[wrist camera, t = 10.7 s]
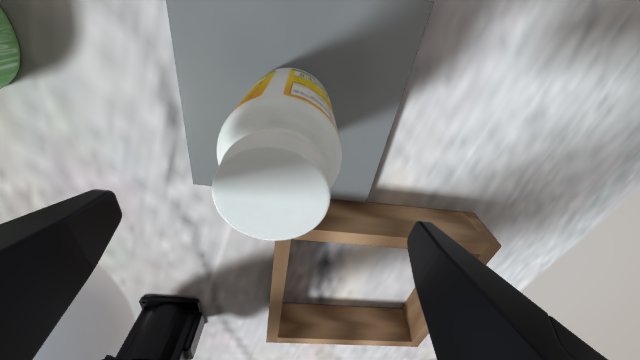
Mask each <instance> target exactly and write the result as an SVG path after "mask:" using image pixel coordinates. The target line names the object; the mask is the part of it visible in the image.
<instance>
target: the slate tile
mask: <svg viewBox="0 0 640 360" xmlns="http://www.w3.org/2000/svg"><path fill="white" fill-rule="evenodd" d="M433 3H434V2H433V1H429V0H166V4H167V10H168V17H169V24H170V30H171V37H172V44H173V51H174V57H175V64H176V71H177V77H178V84H179V91H180V97H181V104H182V111H183V117H184V124H185V131H186V138H187V144H188V151H189V158H190V164H191V171H192V178H193V184H197V185H207V186H212V182H213V177H214V175H215V172H216V170H217V168H218V167H219V164H218V160H217V141H218V136H219V133H220V131H221V128H222V126H223V124H224V123H225V121H226V120H227V118H228V117H229V115H230V114H231V113H232V112H233V110H234V109H235V108H236V107H237V106H238V104H239V103H240V102H241V101H242V100H243V98H244V97H245V96H246V95H247V94H248V92H249V91H250V90H251V89H252V88H253V86H254V85H255V84H256V83H257V82H258V81H259V79H260V78H262V77H263V76H264V75H265V74H267V73H269V72H271V71H273V70H276V69H280V68H296V69H300V70H303V71H305V72H307V73H309V74H311V75H312V76H314V77H315V78H316V79H317V80H318V81H319V82H320V83H321V84H322V85H323V87H324V88H325V90H326V92H327V94H328V96H329V99H330V102H331V106H332V110H333V114H334V118H335V122H336V126H337V130H338V134H339V138H340V143H341V150H342V161H341V167H340V171H339V174H338V176H337V178H336V180H335V182H334V184H333V185H332V187H331V188H330V191H331V198H333V199H343V200H352V201H362V202H366V201H367V198H368V195H369V192H370V189H371V186H372V183H373V180H374V177H375V174H376V171H377V168H378V165H379V163H380V160H381V157H382V154H383V151H384V148H385V145H386V142H387V139H388V136H389V133H390V130H391V127H392V124H393V121H394V118H395V115H396V112H397V109H398V107H399V104H400V101H401V98H402V95H403V92H404V89H405V86H406V83H407V80H408V77H409V74H410V71H411V68H412V65H413V62H414V59H415V56H416V54H417V51H418V48H419V45H420V42H421V39H422V36H423V33H424V30H425V27H426V24H427V21H428V18H429V15H430V12H431V9H432V6H433Z"/></svg>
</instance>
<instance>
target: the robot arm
mask: <svg viewBox="0 0 640 360" xmlns="http://www.w3.org/2000/svg"><path fill="white" fill-rule="evenodd" d="M121 218H122V212H121V209H120V206H119V204H118V201H117V198H116V196H115V194H114V193H113V192H112V191H109V190H100V189H94V190H91V191H88V192H85V193H83V194H80V195H77V196H75V197H72V198H69V199H67V200H64V201H61V202H59V203H56V204H53V205H51V206H48V207H45V208H43V209H40V210H37V211H35V212H32V213H29V214H27V215H24V216H21V217H19V218H16V219H13V220H11V221H8V222H5V223H3V224H0V360H32V359H33V358H34V357H35V355H36V354H37V352H38V351H39V349H40V348H41V346H42V345H43V343H44V342H45V341H46V339H47V338H48V336H49V335H50V333H51V332H52V330H53V329H54V327H55V326H56V325H57V323H58V322H59V320H60V319H61V317H62V316H63V314H64V313H65V311H66V310H67V308H68V307H69V306H70V304H71V303H72V301H73V300H74V298H75V297H76V295H77V294H78V292H79V291H80V290H81V288H82V287H83V285H84V284H85V282H86V281H87V279H88V278H89V276H90V275H91V273H92V272H93V270H94V268H95V267H96V265H97V264H98V262H99V260H100V258H101V256H102V255H103V253H104V251H105V249H106V247H107V245H108V243H109V242H110V240H111V238H112V236H113V234H114V232H115V231H116V229H117V227H118V225H119V223H120V221H121ZM407 247H408V252H409V257H410V262H411V267H412V273H413V278H414V283H415V287H416V291H417V295H418V298H419V301H420V305H421V308H422V311H423V314H424V318H425V321H426V324H427V327H428V331H429V334H430V337H431V341H432V344H433V347H434V350H435V354H436V357H437V360H608V359H606V358H605V357H604V356H602V355H601V354H600V353H598V352H597V351H595V350H594V349H593V348H591V347H590V346H589V345H587V344H586V343H585V342H584V341H582V340H581V339H580V338H578V337H577V336H576V335H574V334H573V333H572V332H571V331H569V330H568V329H567V328H565V327H564V326H563V325H562V324H560V323H559V322H558V321H557V320H555V319H554V318H553V317H551V316H548V314H547V313H546V312H545V311H544V310H542V309H541V308H540V307H538V306H537V305H536V304H535V303H534V302H532V301H531V300H530V299H528V298H527V297H526V296H525V295H523V294H522V293H521V292H520V291H518V290H517V289H516V288H514V287H513V286H512V285H511V284H509V283H508V282H507V281H506V280H504V279H503V278H502V277H500V276H499V275H498V274H497V273H495V272H494V271H493V270H492V269H490V268H489V267H488V266H486V265H485V264H484V263H483V262H481V261H480V260H479V259H477V258H476V257H475V256H474V255H472V254H471V253H470V252H469V251H467V250H466V249H465V248H463V247H462V246H461V245H460V244H458V243H457V242H456V241H455V240H453V239H452V238H451V237H449V236H448V235H447V234H446V233H444V232H443V231H442V230H441V229H439V228H438V227H437V226H435V225H434V224H433V223H431V222H429V221H417V222H416V223H415V225H414V227H413V228H412V230H411V232H410V234H409V236H408V239H407ZM139 303H140V305H141V307H142V311H141V313H140V314H139V316H138V318H137V320H136V322H135V323H134V325H133V327H132V329H131V331H130V332H129V334H128V336H127V338H126V339H125V341H124V343H123V345H122V347H121V348H120V350H119V352H118V354H117V356H116V357H113V356H111V355H107V356H106V357H105V359H103V360H191V359H192V358H193V357H194V354H195V351H196V348H197V345H198V342H199V339H200V336H201V333H202V330H203V327H204V324H205V323H204V318H203V314H202V312H201V309H200V304H199V301H198V300H196V299H181V298H161V297H142V298H141V299H140V301H139Z"/></svg>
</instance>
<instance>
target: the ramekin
mask: <svg viewBox="0 0 640 360" xmlns="http://www.w3.org/2000/svg"><path fill="white" fill-rule="evenodd" d="M19 66H20V50H19V44H18V42H17V39H16V36H15V33H14V30H13V28H12V26H11V24H10V22H9V20H8V18H7V17H6V15H5V13H4V12H3V10H2V9H1V7H0V88H2V87H4V86H6V85H7V84H9V83H10V82H11V81H12V80H13V79H14V78H15V76H16V74H17V73H18V70H19Z"/></svg>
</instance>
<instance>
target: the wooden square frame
mask: <svg viewBox="0 0 640 360" xmlns="http://www.w3.org/2000/svg"><path fill="white" fill-rule="evenodd" d="M417 221H429V222H431V223H433V224H434V225H435V226H437V227H438V228H439V229H441V230H442V231H443V232H444V233H446V234H447V235H448V236H449V237H451V238H452V239H453V240H455V241H456V242H457V243H458V244H460V245H461V246H462V247H463V248H465V249H466V250H467V251H469V252H470V253H471V254H472V255H474V256H475V257H476V258H477V259H479V260H480V261H481V262H483V263H484V264H485V265H486V264H487V263H488V262H489V261H490V259H491V258H492V257H493V256H494V255H495V253H496V252H497V251H498V250H499V249H500V247H501V245H500V243H499V242H498V241H497V240H496V239H495V237H494V236H493V235H492V234H491V233H490V231H489V230H488V229H487V228H486V226H485V225H484V224H483V223H482V222H481V220H480V219H479V218H478V217H477V216H476V214H475V213H466V212H456V211H447V210H437V209H427V208H418V207H408V206H398V205H388V204H379V203H369V202H359V201H350V200H340V199H330V205H329V208H328V211H327V213H326V215H325V217H324V218H323V220H322V221H321V222H320V223H319V224H318V225H317V226H316V227H315V228H314V229H312V230H311V231H309V232H307V233H306V234H304V235H301V236H299V237H296V238H292V239H295V240H308V241H320V242H332V243H345V244H357V245H369V246H382V247H394V248H406V249H408V247H407V239H408V236H409V234H410V232H411V230H412V228H413V227H414V225H415V223H416V222H417ZM290 245H291V239H288V240H279V241H275V249H274V260H273V272H272V283H271V294H270V306H269V317H268V328H267V340H266V342H275V343H309V344H342V345H376V346H410V347H418V346H419V344H420V343H421V342H422V341H423V340H424V338H425V337H426V336H427V335H428V334H429V331H428V327H427V324H426V321H425V318H424V314H423V311H422V308H421V305H420V301H419V298H418V295H417V291H416V287H415V289H414V290H413V292H412V293H411V295H410V296H409V298H408V299H407V301H406V303H405V304H404V306H403V307H402V309H394V308H374V307H354V306H333V305H313V304H293V303H282V302H283V295H284V288H285V281H286V274H287V266H288V259H289V252H290Z"/></svg>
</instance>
